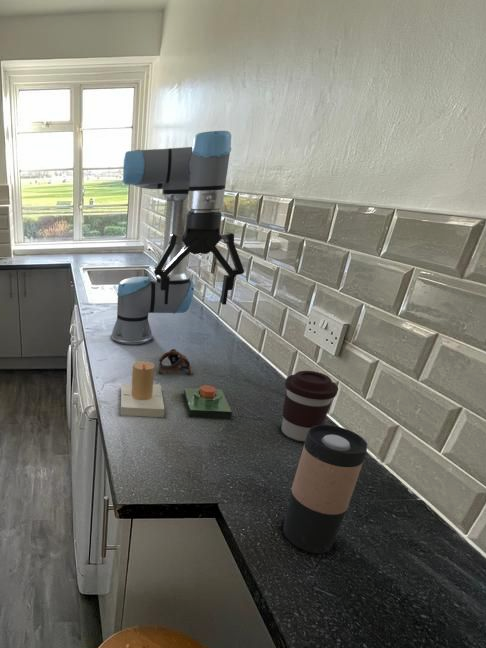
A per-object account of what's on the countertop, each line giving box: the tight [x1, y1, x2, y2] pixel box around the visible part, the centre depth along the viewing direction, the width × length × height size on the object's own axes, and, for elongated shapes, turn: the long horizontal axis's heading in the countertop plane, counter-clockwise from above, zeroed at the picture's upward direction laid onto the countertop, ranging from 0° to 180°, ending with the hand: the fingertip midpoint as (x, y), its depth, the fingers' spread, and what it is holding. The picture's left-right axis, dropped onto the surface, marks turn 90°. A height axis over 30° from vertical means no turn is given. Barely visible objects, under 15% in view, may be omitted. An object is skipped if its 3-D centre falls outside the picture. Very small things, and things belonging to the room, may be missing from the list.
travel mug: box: [282, 424, 368, 554], centre depth 64 cm, size 8×8×20 cm
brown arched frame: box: [158, 348, 192, 376], centre depth 127 cm, size 12×10×8 cm
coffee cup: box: [280, 370, 339, 442], centre depth 92 cm, size 10×10×15 cm
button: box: [199, 384, 217, 397], centre depth 106 cm, size 4×4×2 cm
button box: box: [183, 387, 232, 420], centre depth 107 cm, size 12×10×4 cm
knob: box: [131, 360, 155, 400], centre depth 108 cm, size 6×6×9 cm
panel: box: [120, 382, 166, 418], centre depth 110 cm, size 14×11×3 cm
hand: (193, 303), depth 99 cm, fingers open, 13 cm apart
